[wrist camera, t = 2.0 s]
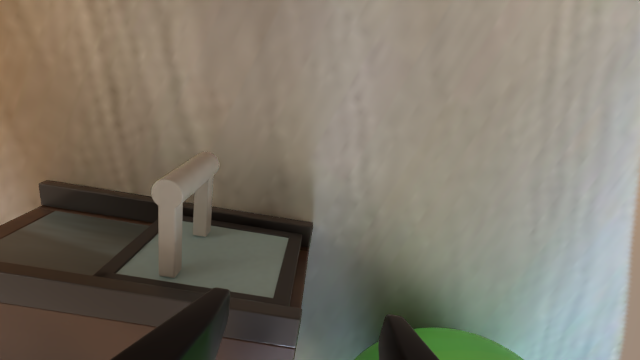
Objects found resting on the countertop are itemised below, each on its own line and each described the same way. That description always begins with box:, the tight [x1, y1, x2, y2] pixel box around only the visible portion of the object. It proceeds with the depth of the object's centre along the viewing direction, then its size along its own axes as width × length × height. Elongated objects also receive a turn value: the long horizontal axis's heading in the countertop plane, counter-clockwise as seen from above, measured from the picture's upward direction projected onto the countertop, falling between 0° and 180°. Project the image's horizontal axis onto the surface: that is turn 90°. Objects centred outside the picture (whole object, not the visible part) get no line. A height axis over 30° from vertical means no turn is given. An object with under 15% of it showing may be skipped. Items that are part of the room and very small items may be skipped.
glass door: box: [92, 152, 302, 306], centre depth 17 cm, size 6×9×7 cm, turn 81°
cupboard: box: [0, 180, 313, 360], centre depth 19 cm, size 11×18×9 cm, turn 81°
